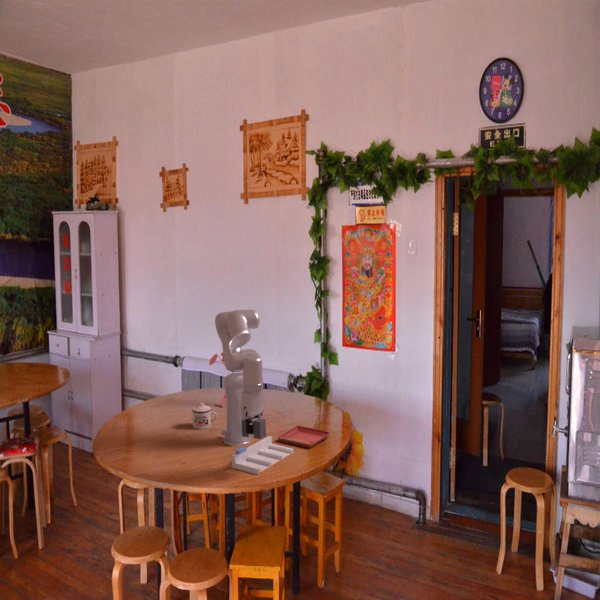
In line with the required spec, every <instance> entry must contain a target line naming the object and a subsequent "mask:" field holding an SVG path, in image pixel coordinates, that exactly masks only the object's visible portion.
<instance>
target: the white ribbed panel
mask: <svg viewBox="0 0 600 600" xmlns="http://www.w3.org/2000/svg"><path fill="white" fill-rule="evenodd" d="M293 453H294V448H292V447H287V446H283V445H279V444H274V443H273V437H272V436H271V435H268V436H266V437H264V438H262V439H260V440H259V441H257V442H255V443H254V444H252V445H249V446H248V447H245V446H242V447H240V448H238V449H236V450H235V453H234V454H233V455H231V468H232V469H235V470H238V471H239V470H240V471H242V472H246V473H251V474H254V475H260V474H261V473H262V472H263V471H265V470H266V469H268V468H270V467H272V466H273V465H274V464H277V463H278V462H280V461H282V460H283V459H285V458H286V457H288V456H290V455H291V454H293Z"/></svg>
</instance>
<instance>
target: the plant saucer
mask: <svg viewBox="0 0 600 600" xmlns="http://www.w3.org/2000/svg"><path fill="white" fill-rule="evenodd" d="M330 434H331V432H330V431H326V430H321V429H317V428H312V427H307V426H302V425H296V426H294V427H292V428H291V429H288V430H287V431H285V432H283V433H282V434H279V435H277V439H278V440H279V441H280V442H281V443H286V444H291V445H295V446H298V447H303V448H309V449H311V448H312V447H314V446H315V445H317V444H319V442H320V443H321V442H323V441H324V440H326V439H327V437H328V436H329V435H330ZM288 438H291V439H288ZM292 439H299V440H302V441H305V442H306V441H307V442H311V443H305V442H300V441H296V440H292ZM322 440H323V441H322Z"/></svg>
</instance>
